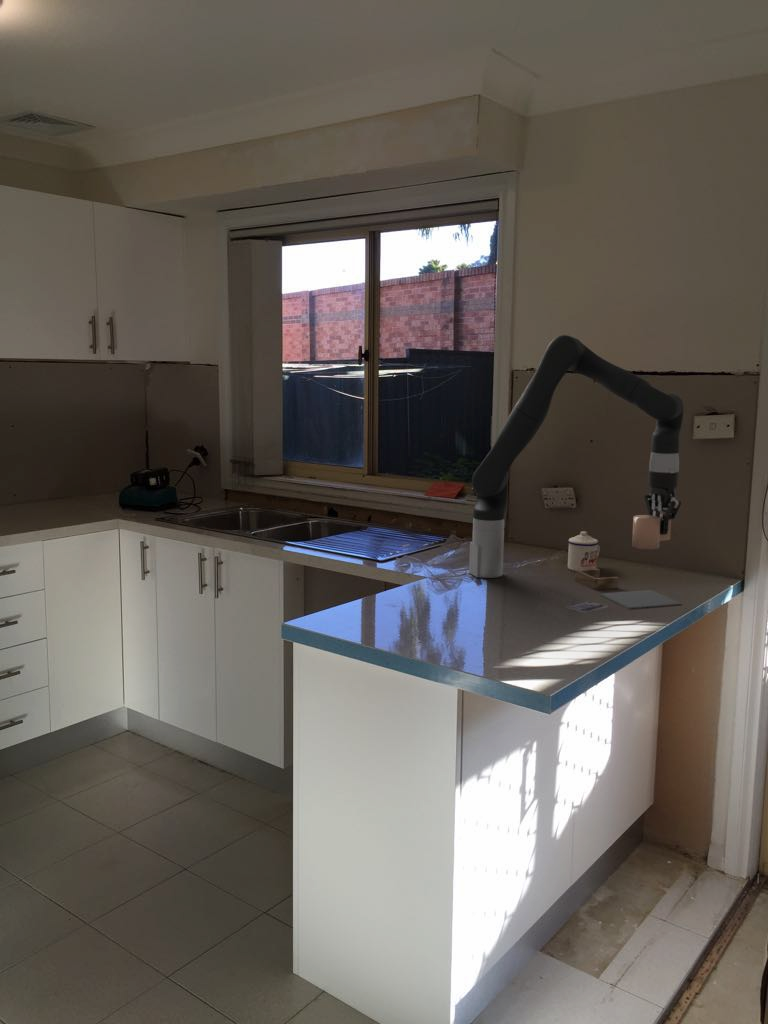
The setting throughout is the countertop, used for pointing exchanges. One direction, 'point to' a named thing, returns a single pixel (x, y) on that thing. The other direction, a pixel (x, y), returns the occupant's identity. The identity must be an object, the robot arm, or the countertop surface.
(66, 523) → the countertop surface
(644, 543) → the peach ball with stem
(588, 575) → the walnut holder
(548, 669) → the countertop surface
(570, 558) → the teacup with lid
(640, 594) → the charcoal mat
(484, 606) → the countertop surface
